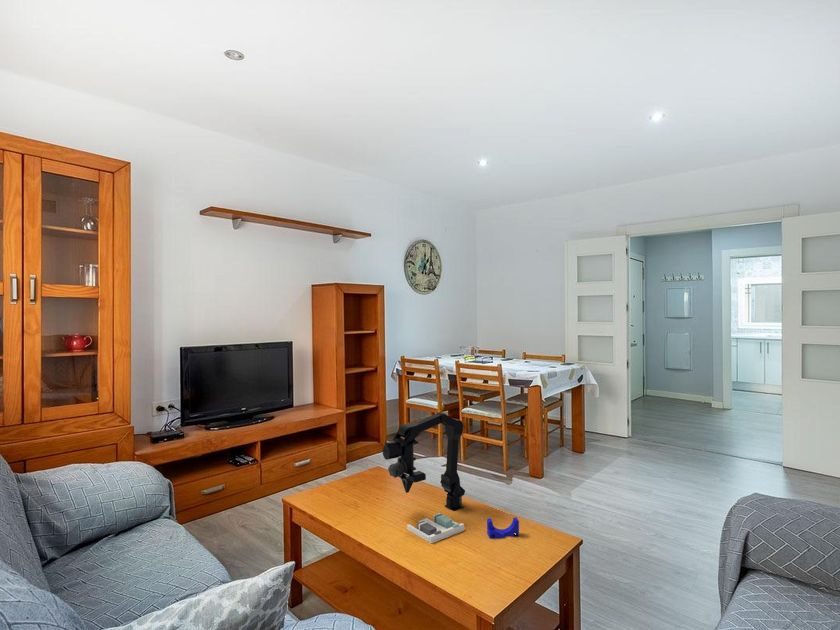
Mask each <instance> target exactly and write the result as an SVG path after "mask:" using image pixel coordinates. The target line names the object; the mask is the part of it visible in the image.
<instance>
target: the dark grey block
mask: <svg viewBox="0 0 840 630" xmlns="http://www.w3.org/2000/svg"><path fill="white" fill-rule="evenodd" d="M416 529H418V530H420V531H422V532H423V533H425V534H427V535H432V534H434V532H436V531H437V528H436V527H434V526H432V525H430V524H429V523H427V522H425V521H422V522H419V521H418V522H417V523H416Z"/></svg>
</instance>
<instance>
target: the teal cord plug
mask: <svg viewBox="0 0 840 630" xmlns="http://www.w3.org/2000/svg"><path fill="white" fill-rule="evenodd" d="M432 519H433V520H432V521H433V522H435V523H437V524H439V525H441V526H443V527H444V528H446V529H448V528H450V527H452V521H453V519H452V518H450V517H448V516H447V515H444V514H443V513H439V512H438V513H436V514H433V517H432Z"/></svg>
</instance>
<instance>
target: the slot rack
mask: <svg viewBox="0 0 840 630" xmlns="http://www.w3.org/2000/svg"><path fill="white" fill-rule="evenodd" d="M422 521H425V522H427V523H429V524H430V525H432V526H434V527H436V528H437V531H436V532H434V534H432V535H427V534H425V533H423V532H422V531H420V530H418V529H417V527H414V526H413V525H411V524H407V525H406V529H407V530H408V531H409V532H411V533H413V534H414V535H416V536H418V537H419V538H421V539H423V540H424V541H426V542H428V543H430V544H434V543H436V542H439V541H441V540H443V539H446V538H449V537H452V536H454V535H456V534H459V533H461V532H464V531H465V524H464V523H463V522H461V523H458V522H456V521H454V520H452V527H450V528H448V529H446V528H444V527H443V526H441V525H439V524H437V523H435V522H433V520H432V519H429V518H428V517H426V518H423V519H420V520H419V521H418V523H419V522H422Z"/></svg>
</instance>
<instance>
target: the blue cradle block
mask: <svg viewBox="0 0 840 630" xmlns="http://www.w3.org/2000/svg"><path fill="white" fill-rule="evenodd" d="M514 533H516V535H519V536H520V520H519V519H518V517H512V522H511V524H509V526H508V527H506V528H503V529H502V528H501V529H500V528H497V527H496V526H494V524H493V520H492V517H491V518H486V534H487V537H488V538H489V539H506V537H515V536H514V535H515V534H514Z"/></svg>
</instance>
